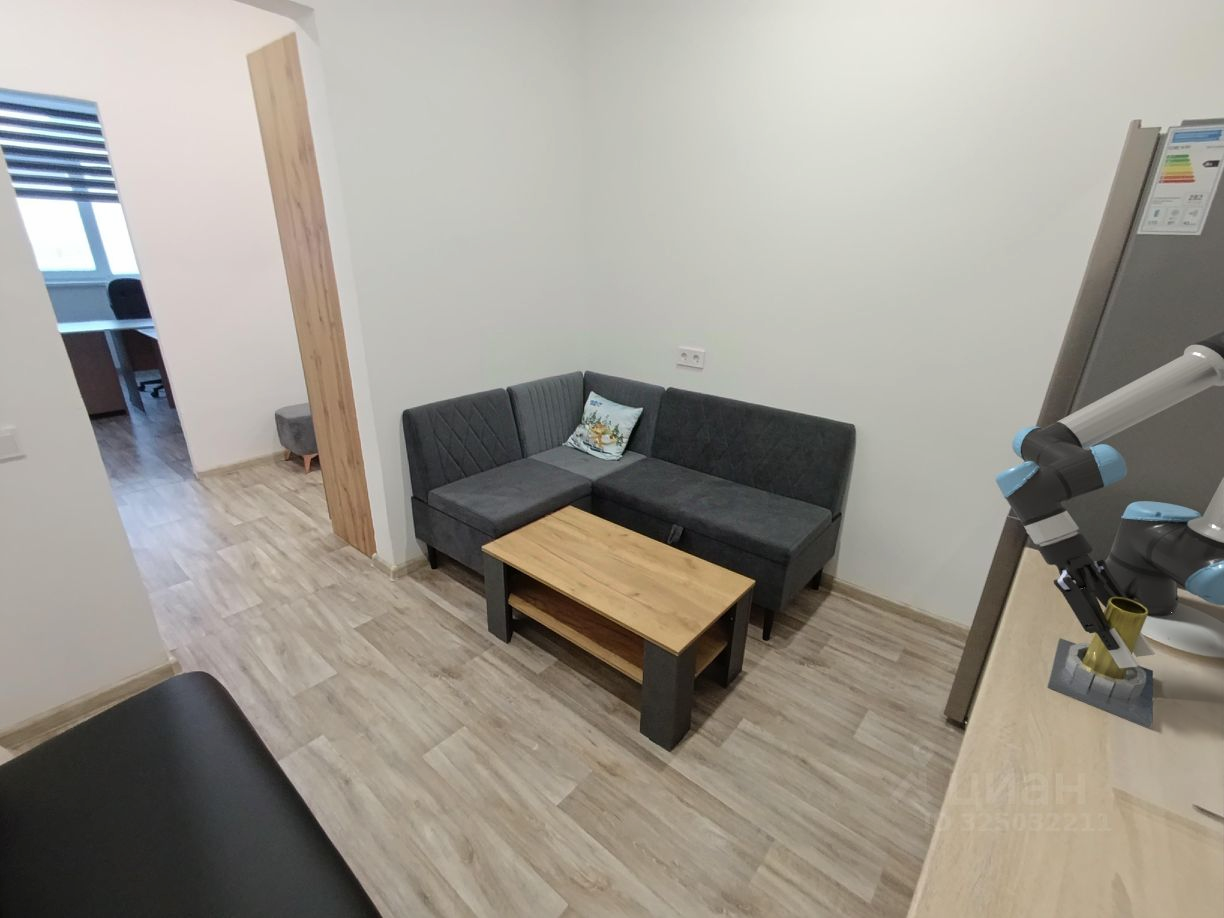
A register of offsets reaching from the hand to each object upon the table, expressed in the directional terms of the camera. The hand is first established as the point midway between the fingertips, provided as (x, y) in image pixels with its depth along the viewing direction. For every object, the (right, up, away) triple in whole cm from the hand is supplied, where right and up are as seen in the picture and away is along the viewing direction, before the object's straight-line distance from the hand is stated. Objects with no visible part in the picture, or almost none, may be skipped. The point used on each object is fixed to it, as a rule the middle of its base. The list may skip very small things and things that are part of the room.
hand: (1137, 660), depth 97 cm
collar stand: (-2, -6, +6) cm, 9 cm away
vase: (-2, -4, +5) cm, 6 cm away
